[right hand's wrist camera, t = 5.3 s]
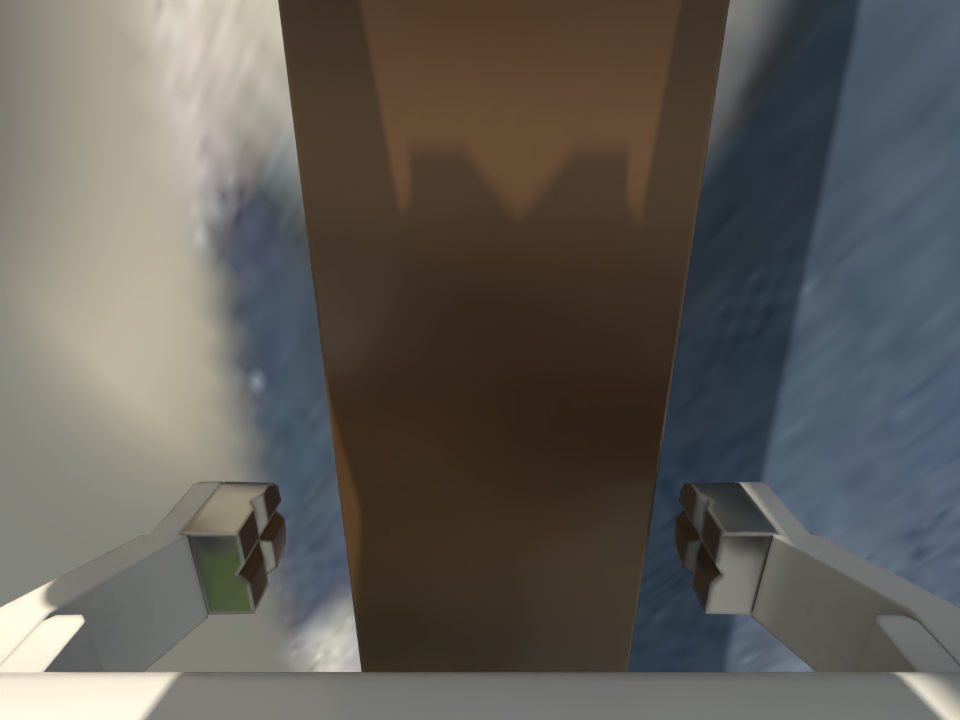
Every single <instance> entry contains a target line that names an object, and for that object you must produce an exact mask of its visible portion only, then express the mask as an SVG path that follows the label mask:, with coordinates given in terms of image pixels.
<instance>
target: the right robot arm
mask: <svg viewBox="0 0 960 720" xmlns="http://www.w3.org/2000/svg"><path fill="white" fill-rule="evenodd" d="M280 502H281V498H280V493H279V488H278V486H277V485H276V484H274V483H262V482H198V483H195V484H194V485H193V486H192V487H191V488H190V489H189V490H188V491H187V493H186V494H185V495H184V496H183V497H182V498H181V499H180V501H179V502H178V503H177V504H176V505H175V506H174V508H173V509H172V510H171V511H170V512H169V513H168V514H167V516H166V517H165V518H164V519H163V520H162V521H161V522H160V524H159V525H158V526H157V527H156V528H155V529H154V531H153V532H152V533H151V534H150V535H141V536H139V537H137V538H135V539H133V540H131V541H129V542H127V543H125V544H123V545H121V546H119V547H117V548H115V549H113V550H111V551H109V552H107V553H106V554H104V555H102V556H100V557H98V558H96V559H94V560H92V561H90V562H88V563H86V564H84V565H82V566H80V567H78V568H76V569H74V570H72V571H70V572H69V573H67V574H65V575H63V576H61V577H59V578H57V579H55V580H53V581H51V582H49V583H47V584H45V585H43V586H41V587H39V588H37V589H35V590H33V591H31V592H30V593H27V594H26V595H24V596H22V597H20V598H18V599H16V600H14V601H12V602H10V603H8V604H6V605H4V606H2V607H0V720H960V608H959V607H957V606H956V605H954V604H952V603H950V602H948V601H946V600H944V599H942V598H940V597H938V596H936V595H934V594H932V593H930V592H928V591H926V590H924V589H922V588H921V587H919V586H917V585H915V584H913V583H911V582H909V581H907V580H905V579H903V578H901V577H899V576H897V575H895V574H893V573H891V572H889V571H887V570H885V569H884V568H882V567H880V566H878V565H876V564H874V563H872V562H870V561H868V560H866V559H864V558H862V557H860V556H858V555H856V554H854V553H852V552H850V551H849V550H847V549H845V548H843V547H841V546H839V545H837V544H835V543H833V542H831V541H829V540H827V539H825V538H823V537H821V536H819V535H810V534H809V533H808V532H807V531H806V529H805V528H804V527H803V526H802V525H801V524H800V522H799V521H798V520H797V519H796V518H795V517H794V516H793V514H792V513H791V512H790V511H789V510H788V509H787V508H786V506H785V505H784V504H783V503H782V502H781V501H780V499H779V498H778V497H777V496H776V495H775V494H774V493H773V491H772V490H771V489H770V488H769V487H768V486H767V485H766V484H765V483H763V482H760V481H754V482H735V483H684V485H683V487H682V489H681V492H680V497H679V502H680V503H681V505H682V507H683V509H684V511H683V512H682V513H681V514H680V515H679V516H678V517H677V518H676V520H675V528H674V541H675V549H676V552H677V556H678V558H679V561H680V563H681V565H682V567H683V568H684V569H686V570H687V571H689V572H690V573H691V574H693V579H692V584H691V586H692V588H693V590H694V592H695V594H696V596H697V598H698V600H699V602H700V604H701V606H702V608H703V610H704V612H705V613H707V614H743V615H752V618H754V619H755V620H756V621H757V622H758V623H759V624H761V625H762V626H763V627H764V628H765V629H766V630H768V631H769V632H770V633H771V634H772V635H773V636H775V637H776V638H777V639H778V640H779V641H780V642H782V643H783V644H784V645H785V646H786V647H788V648H789V649H790V650H791V651H792V652H793V653H795V654H796V655H797V656H798V657H799V658H800V659H802V660H803V661H804V662H805V663H806V664H807V665H809V666H810V667H811V668H812V669H813V670H814V671H816V672H144V671H146V670H147V669H148V668H149V667H150V666H151V665H153V664H154V663H155V662H156V661H157V660H159V659H160V658H161V657H162V656H163V655H164V654H166V653H167V652H168V651H169V650H170V649H171V648H173V647H174V646H175V645H176V644H177V643H178V642H180V641H181V640H182V639H183V638H184V637H186V636H187V635H188V634H189V633H190V632H191V631H193V630H194V629H195V628H196V627H197V626H198V625H200V624H201V623H202V622H203V621H204V620H206V619H207V618H208V615H216V614H251V613H255V612H256V610H257V608H258V606H259V604H260V602H261V600H262V598H263V596H264V594H265V592H266V590H267V588H268V585H269V584H268V579H267V574H269V573H270V572H271V571H273V570H274V569H276V568H277V567H278V565H279V563H280V560H281V558H282V556H283V552H284V547H285V543H286V526H285V520H284V518H283V517H282V516H281V515H280V514H279V513H278V512H277V511H276V509H277V507H278V505H279V503H280Z"/></svg>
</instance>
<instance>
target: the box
mask: <svg viewBox="0 0 960 720" xmlns="http://www.w3.org/2000/svg"><path fill="white" fill-rule="evenodd" d="M729 1H730V0H278V3H279V11H280V19H281V27H282V35H283V43H284V51H285V59H286V67H287V75H288V83H289V91H290V99H291V107H292V115H293V123H294V131H295V139H296V147H297V155H298V164H299V172H300V180H301V188H302V196H303V204H304V212H305V220H306V228H307V236H308V244H309V252H310V260H311V268H312V276H313V284H314V292H315V300H316V308H317V316H318V325H319V333H320V341H321V349H322V357H323V365H324V373H325V381H326V389H327V397H328V405H329V413H330V421H331V429H332V437H333V445H334V453H335V461H336V469H337V478H338V486H339V494H340V502H341V510H342V518H343V526H344V534H345V542H346V550H347V558H348V566H349V574H350V582H351V590H352V598H353V606H354V614H355V622H356V630H357V639H358V647H359V655H360V663H361V671H362V672H628V666H629V659H630V653H631V646H632V640H633V633H634V627H635V620H636V613H637V607H638V600H639V594H640V587H641V580H642V574H643V567H644V561H645V554H646V547H647V541H648V534H649V528H650V521H651V515H652V508H653V501H654V495H655V488H656V482H657V475H658V468H659V462H660V455H661V449H662V442H663V435H664V429H665V422H666V416H667V409H668V403H669V396H670V389H671V383H672V376H673V370H674V363H675V356H676V350H677V343H678V337H679V330H680V323H681V317H682V310H683V304H684V297H685V290H686V284H687V277H688V271H689V264H690V258H691V251H692V244H693V238H694V231H695V225H696V218H697V211H698V205H699V198H700V192H701V185H702V178H703V172H704V165H705V159H706V152H707V146H708V139H709V132H710V126H711V119H712V113H713V106H714V99H715V93H716V86H717V80H718V73H719V66H720V60H721V53H722V47H723V40H724V33H725V27H726V20H727V14H728V7H729Z"/></svg>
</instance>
